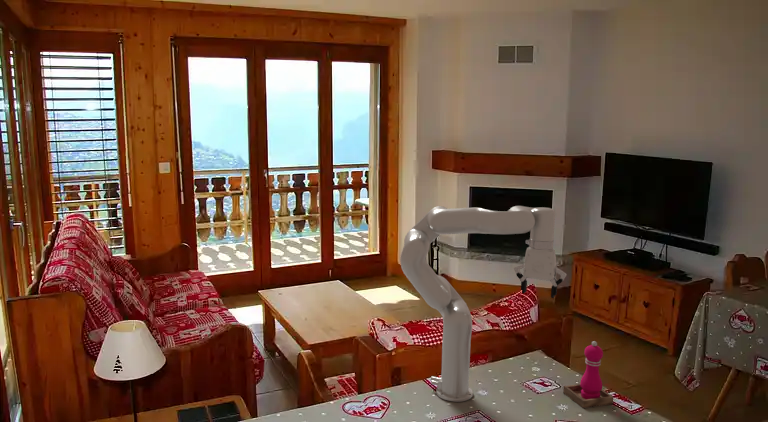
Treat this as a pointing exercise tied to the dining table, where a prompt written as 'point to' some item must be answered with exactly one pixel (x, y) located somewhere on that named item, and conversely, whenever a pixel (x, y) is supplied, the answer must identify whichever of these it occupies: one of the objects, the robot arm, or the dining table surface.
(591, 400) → the walnut tray
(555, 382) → the dining table surface
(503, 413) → the dining table surface
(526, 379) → the dining table surface
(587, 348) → the magenta pepper mill
